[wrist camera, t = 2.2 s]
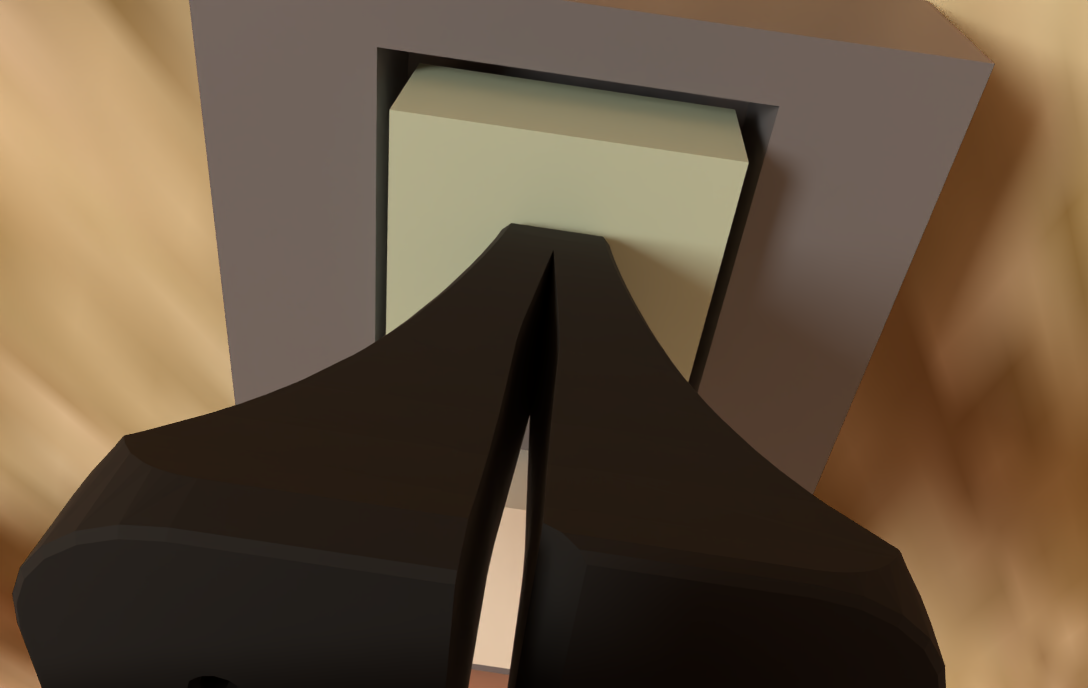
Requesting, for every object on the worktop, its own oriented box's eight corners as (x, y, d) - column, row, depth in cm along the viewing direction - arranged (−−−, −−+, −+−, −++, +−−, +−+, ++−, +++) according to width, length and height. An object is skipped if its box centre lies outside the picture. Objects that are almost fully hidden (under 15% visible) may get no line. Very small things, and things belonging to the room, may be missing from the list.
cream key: (401, 576, 18) (380, 649, 17) (406, 419, 16) (383, 489, 14) (608, 607, 18) (605, 682, 17) (647, 454, 16) (648, 528, 14)
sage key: (410, 324, 15) (385, 390, 13) (419, 63, 12) (389, 109, 11) (670, 361, 15) (674, 433, 13) (735, 109, 12) (748, 163, 11)
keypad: (314, 679, 25) (279, 783, 22) (267, -97, 13) (183, -56, 11) (663, 731, 25) (666, 841, 22) (927, 1, 13) (994, 63, 11)
